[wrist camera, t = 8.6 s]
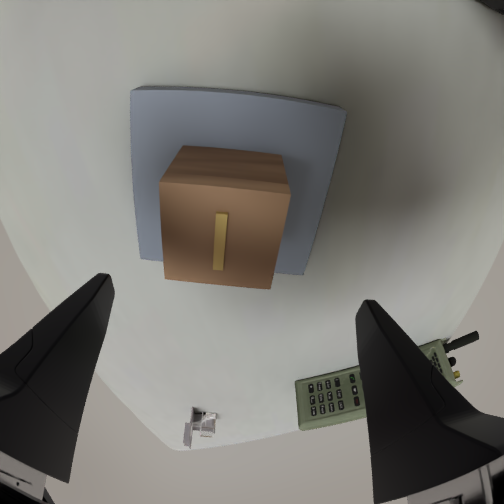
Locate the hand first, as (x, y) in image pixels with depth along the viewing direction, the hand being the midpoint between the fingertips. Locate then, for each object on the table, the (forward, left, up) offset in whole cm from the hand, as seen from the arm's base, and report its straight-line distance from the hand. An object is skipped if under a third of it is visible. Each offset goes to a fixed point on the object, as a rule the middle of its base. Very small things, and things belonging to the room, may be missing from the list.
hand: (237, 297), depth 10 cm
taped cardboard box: (+1, -1, -9) cm, 9 cm away
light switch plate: (+1, -1, -11) cm, 11 cm away
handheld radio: (+21, +21, -11) cm, 32 cm away
